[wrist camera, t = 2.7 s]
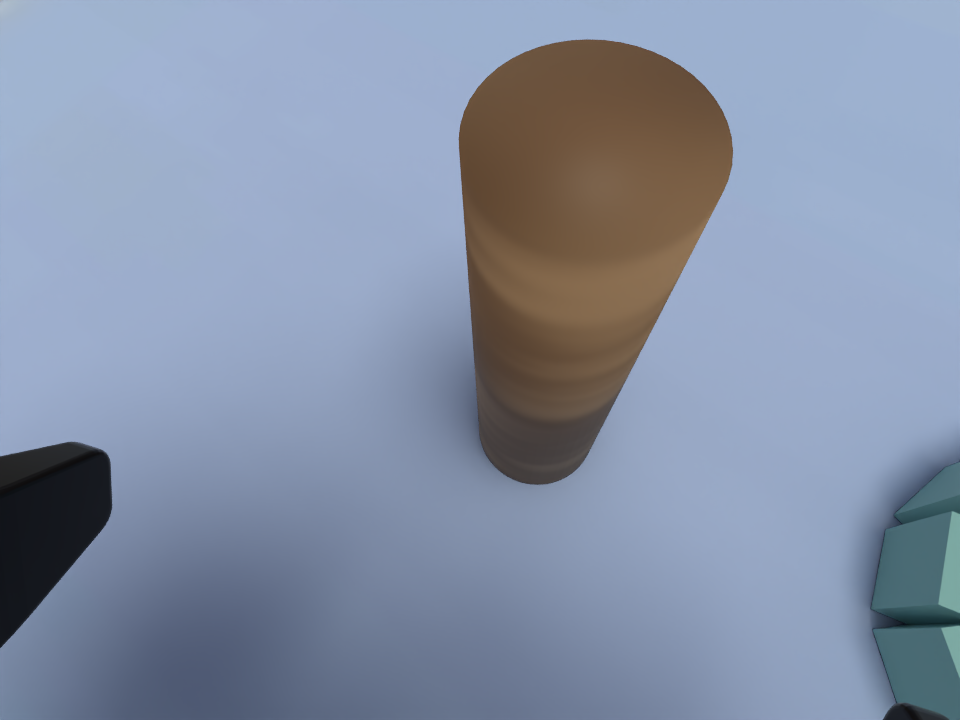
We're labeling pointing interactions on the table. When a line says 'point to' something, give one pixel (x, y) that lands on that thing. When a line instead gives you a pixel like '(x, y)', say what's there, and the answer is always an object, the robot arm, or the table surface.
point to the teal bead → (923, 597)
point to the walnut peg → (577, 234)
